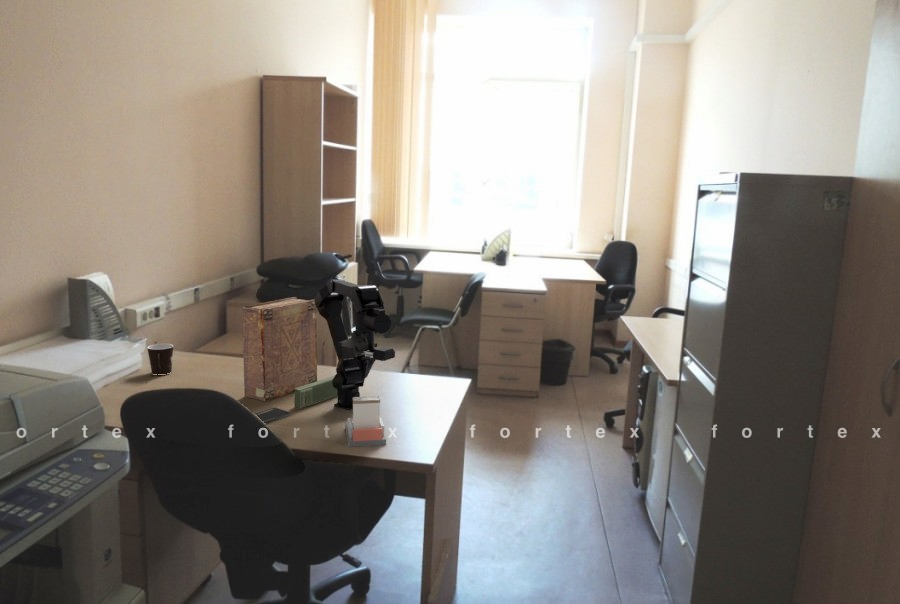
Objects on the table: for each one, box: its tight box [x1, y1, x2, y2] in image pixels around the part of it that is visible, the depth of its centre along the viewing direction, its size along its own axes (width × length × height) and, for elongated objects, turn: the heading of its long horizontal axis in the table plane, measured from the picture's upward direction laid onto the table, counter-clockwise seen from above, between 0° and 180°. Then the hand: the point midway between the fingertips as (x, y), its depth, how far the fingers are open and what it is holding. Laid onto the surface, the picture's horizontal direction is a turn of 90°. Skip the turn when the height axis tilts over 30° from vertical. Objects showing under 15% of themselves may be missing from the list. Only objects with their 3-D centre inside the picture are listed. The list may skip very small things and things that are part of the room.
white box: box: [352, 395, 381, 429], centre depth 175 cm, size 3×7×10 cm, turn 103°
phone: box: [255, 407, 291, 425], centre depth 189 cm, size 8×1×15 cm
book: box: [241, 296, 318, 402], centre depth 214 cm, size 25×9×30 cm, turn 151°
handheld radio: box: [293, 375, 338, 410], centre depth 209 cm, size 7×3×25 cm
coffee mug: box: [146, 343, 174, 375], centre depth 229 cm, size 12×9×10 cm
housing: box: [344, 416, 387, 448], centre depth 178 cm, size 14×10×4 cm
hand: (364, 377), depth 192 cm, fingers closed
